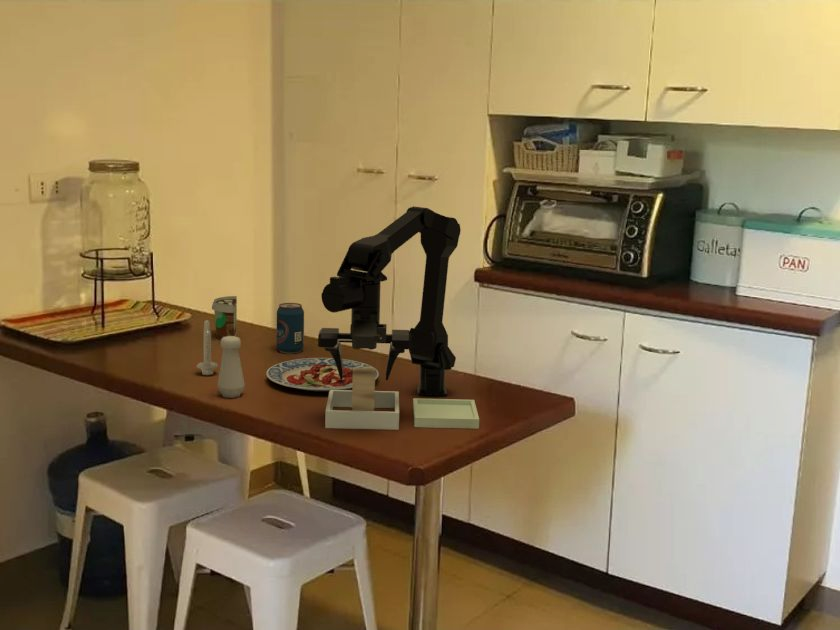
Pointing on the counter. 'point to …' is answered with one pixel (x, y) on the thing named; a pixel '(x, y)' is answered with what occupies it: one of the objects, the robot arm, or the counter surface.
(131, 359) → the counter surface
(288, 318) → the soda can
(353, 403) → the birch peg
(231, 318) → the food container
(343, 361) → the ceramic plate
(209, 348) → the screw
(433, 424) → the tray
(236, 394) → the salt shaker
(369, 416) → the frame
